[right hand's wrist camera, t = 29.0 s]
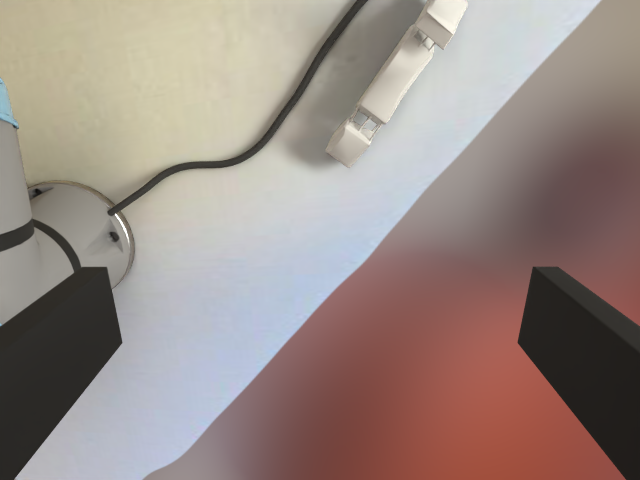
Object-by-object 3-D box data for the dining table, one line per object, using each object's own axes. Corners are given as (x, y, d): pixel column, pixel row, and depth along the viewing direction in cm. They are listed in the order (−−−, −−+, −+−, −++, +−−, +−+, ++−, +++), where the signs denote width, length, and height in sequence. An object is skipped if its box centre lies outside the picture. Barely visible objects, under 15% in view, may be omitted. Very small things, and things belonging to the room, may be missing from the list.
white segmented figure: (438, -20, 40) (455, -34, 34) (466, 5, 41) (487, -5, 35) (324, 143, 48) (321, 156, 41) (349, 161, 48) (350, 177, 42)
